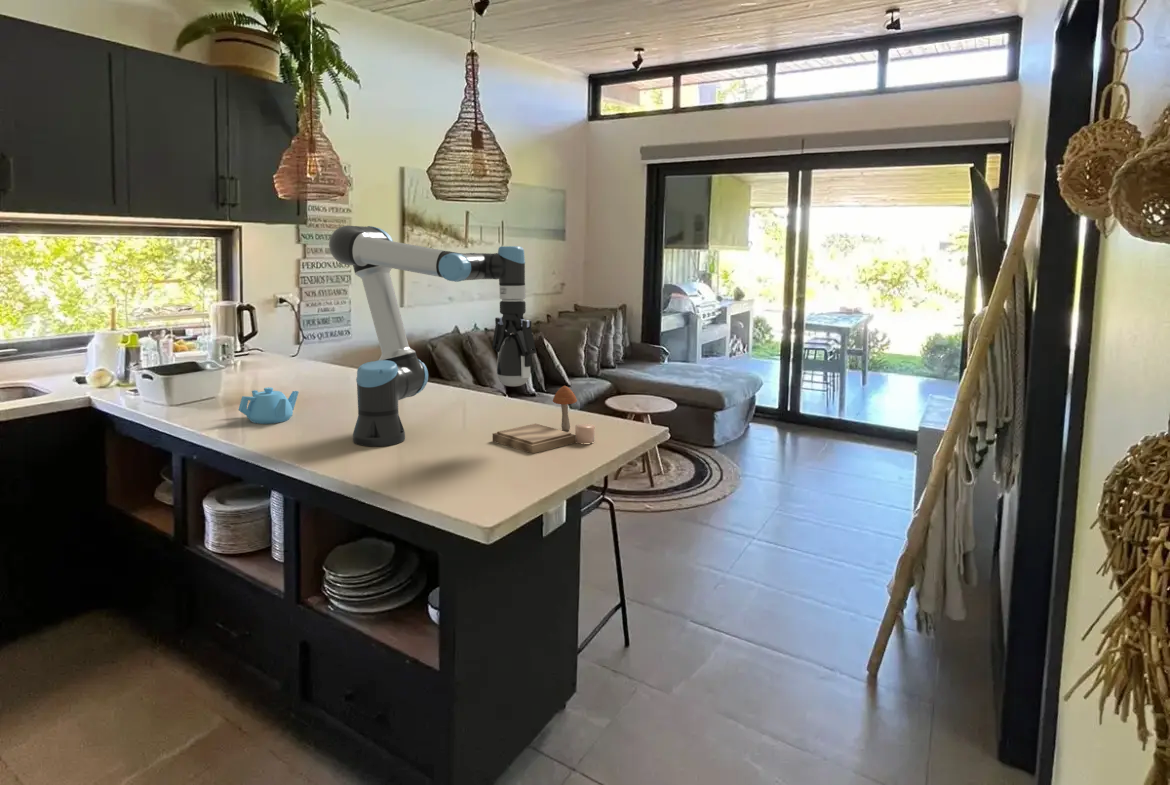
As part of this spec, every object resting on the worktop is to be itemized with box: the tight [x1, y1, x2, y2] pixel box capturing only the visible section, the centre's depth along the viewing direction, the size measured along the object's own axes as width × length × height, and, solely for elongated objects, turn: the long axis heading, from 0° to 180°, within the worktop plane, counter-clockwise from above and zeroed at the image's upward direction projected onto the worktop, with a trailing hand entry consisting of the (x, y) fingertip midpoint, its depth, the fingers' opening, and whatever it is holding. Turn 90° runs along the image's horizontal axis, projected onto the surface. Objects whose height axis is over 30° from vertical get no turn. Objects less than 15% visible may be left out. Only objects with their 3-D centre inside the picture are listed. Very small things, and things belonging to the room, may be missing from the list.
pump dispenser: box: [495, 333, 532, 387], centre depth 213 cm, size 10×10×15 cm
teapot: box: [238, 386, 300, 425], centre depth 237 cm, size 15×15×11 cm
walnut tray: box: [491, 423, 576, 454], centre depth 220 cm, size 18×18×3 cm
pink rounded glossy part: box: [574, 423, 596, 444], centre depth 222 cm, size 6×6×5 cm
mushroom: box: [552, 385, 578, 432], centre depth 234 cm, size 8×8×15 cm
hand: (514, 375), depth 214 cm, fingers closed on pump dispenser, 10 cm apart
